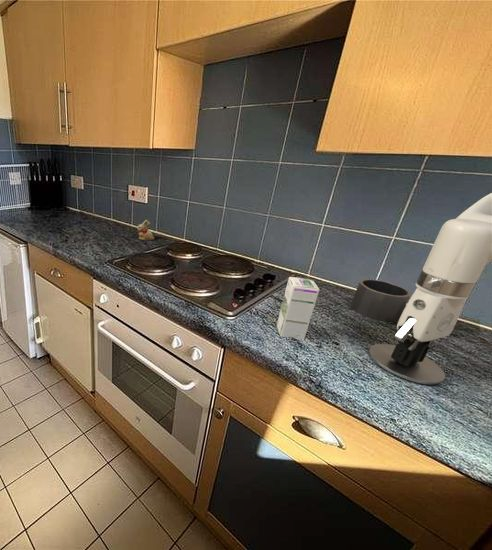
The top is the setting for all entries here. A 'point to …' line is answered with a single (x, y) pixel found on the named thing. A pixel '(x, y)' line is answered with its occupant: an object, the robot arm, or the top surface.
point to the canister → (380, 300)
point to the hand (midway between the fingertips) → (406, 359)
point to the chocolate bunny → (145, 231)
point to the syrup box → (297, 307)
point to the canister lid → (415, 370)
